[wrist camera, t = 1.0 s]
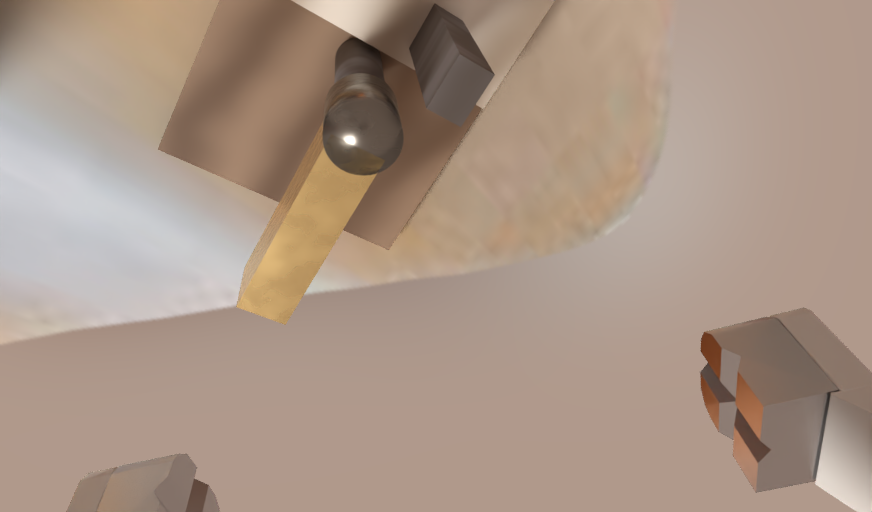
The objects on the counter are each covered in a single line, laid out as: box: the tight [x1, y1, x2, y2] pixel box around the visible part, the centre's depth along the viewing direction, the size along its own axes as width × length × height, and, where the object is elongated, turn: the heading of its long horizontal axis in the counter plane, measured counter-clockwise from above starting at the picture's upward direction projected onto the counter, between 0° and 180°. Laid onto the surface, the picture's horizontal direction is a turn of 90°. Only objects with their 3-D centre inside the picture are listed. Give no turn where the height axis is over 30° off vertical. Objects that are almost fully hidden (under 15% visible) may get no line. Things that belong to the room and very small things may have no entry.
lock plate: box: [158, 0, 555, 250], centre depth 38 cm, size 18×24×14 cm
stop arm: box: [236, 73, 404, 324], centre depth 36 cm, size 14×4×4 cm, turn 148°
